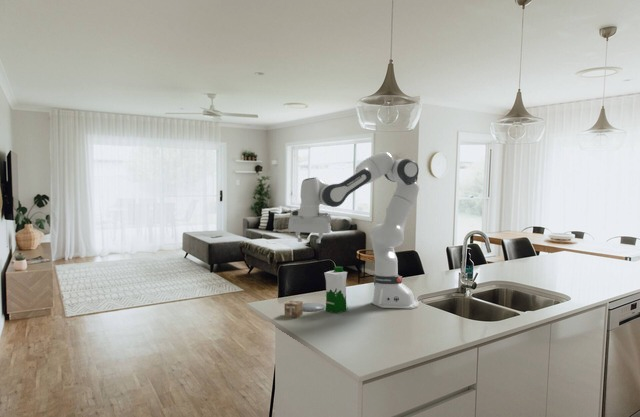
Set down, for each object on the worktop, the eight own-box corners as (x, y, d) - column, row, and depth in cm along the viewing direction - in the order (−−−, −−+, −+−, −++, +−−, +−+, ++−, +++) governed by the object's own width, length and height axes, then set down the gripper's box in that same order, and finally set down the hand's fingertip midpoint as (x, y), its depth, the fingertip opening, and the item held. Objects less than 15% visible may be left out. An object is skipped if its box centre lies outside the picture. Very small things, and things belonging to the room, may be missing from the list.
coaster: (328, 305, 203) (328, 304, 203) (318, 312, 191) (318, 310, 191) (303, 303, 208) (303, 301, 208) (292, 310, 195) (292, 308, 195)
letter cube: (302, 314, 188) (302, 301, 187) (296, 318, 182) (296, 304, 182) (290, 313, 190) (290, 300, 190) (284, 317, 184) (284, 303, 184)
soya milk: (349, 310, 194) (349, 267, 193) (336, 314, 187) (336, 269, 187) (335, 307, 200) (334, 265, 199) (322, 311, 193) (321, 267, 193)
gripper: (333, 213, 193) (332, 243, 193) (293, 211, 200) (292, 240, 201) (328, 213, 187) (327, 244, 187) (287, 212, 195) (286, 241, 195)
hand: (309, 242), depth 194 cm, fingers open, 8 cm apart
